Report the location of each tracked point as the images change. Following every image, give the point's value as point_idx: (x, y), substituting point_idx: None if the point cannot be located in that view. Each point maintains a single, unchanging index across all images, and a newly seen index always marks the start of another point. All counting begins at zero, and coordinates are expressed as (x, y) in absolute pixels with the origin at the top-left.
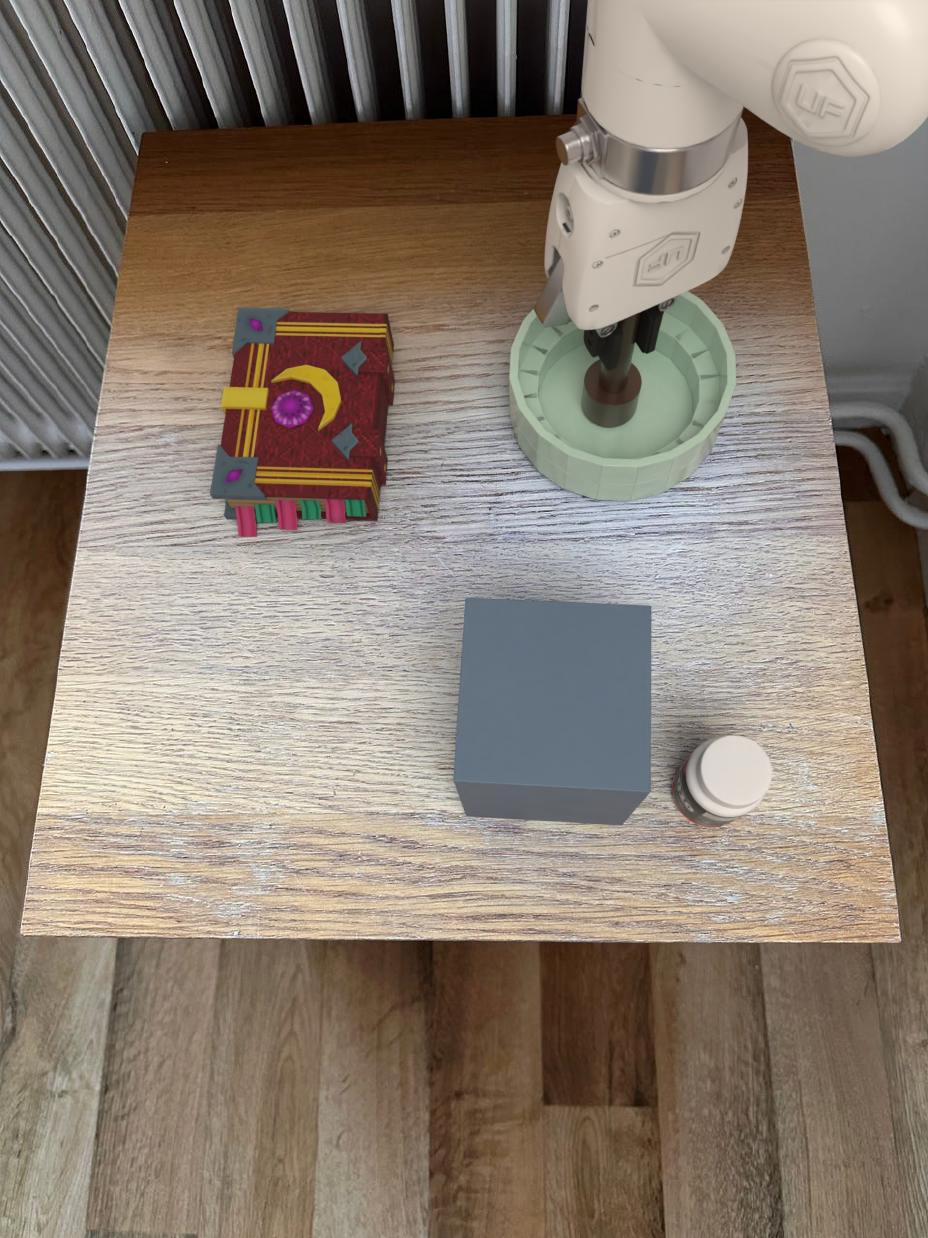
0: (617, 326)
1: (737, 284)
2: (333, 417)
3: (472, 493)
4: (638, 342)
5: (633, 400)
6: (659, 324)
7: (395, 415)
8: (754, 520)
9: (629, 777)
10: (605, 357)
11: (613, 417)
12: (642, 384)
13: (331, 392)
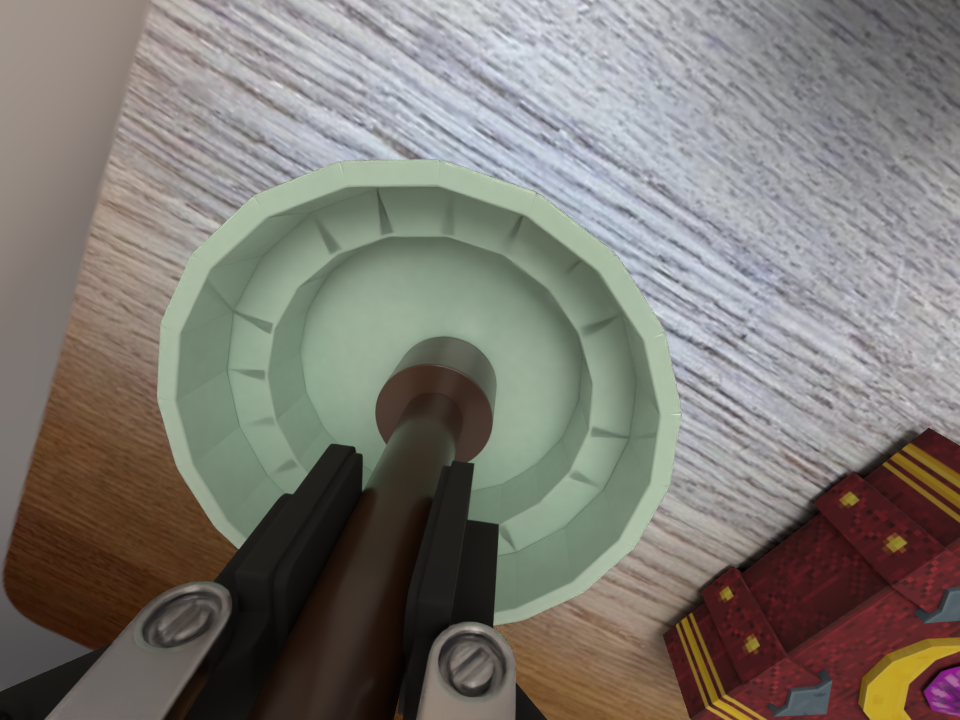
0: (416, 628)
1: (147, 435)
2: (932, 644)
3: (745, 378)
4: (357, 486)
5: (420, 362)
6: (269, 532)
7: (738, 549)
8: (331, 6)
9: None
10: (468, 505)
11: (466, 356)
12: (373, 380)
13: (892, 678)
